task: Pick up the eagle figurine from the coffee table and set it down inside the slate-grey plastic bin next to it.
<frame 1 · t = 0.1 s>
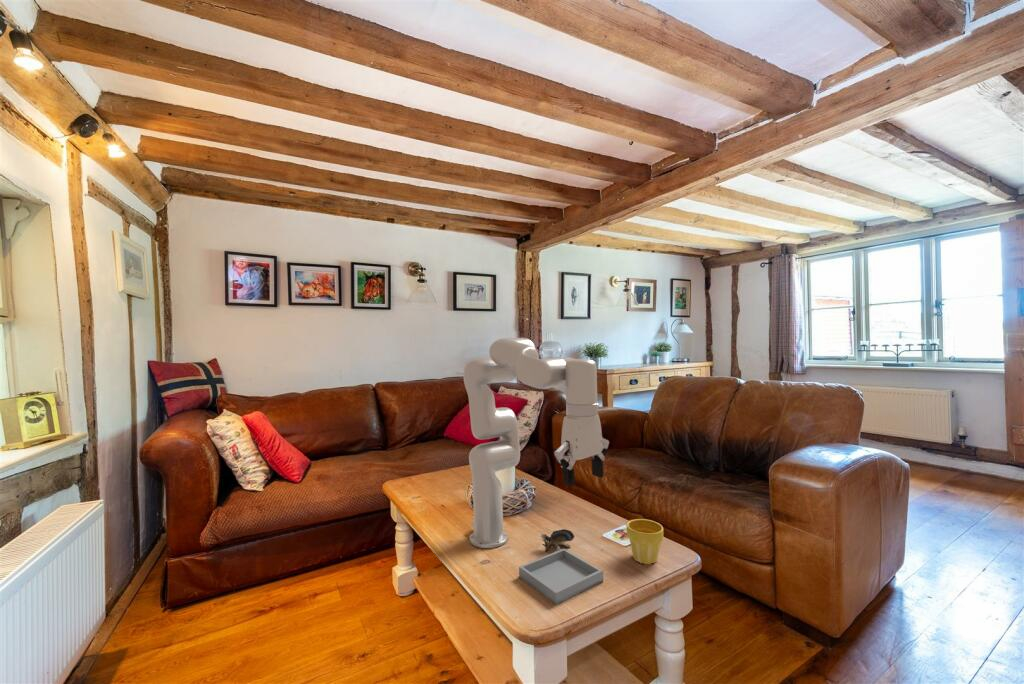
hand: (583, 480, 106), 31 cm above the table, tool pointing down, fingers open, 9 cm apart
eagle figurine: (557, 550, 135), on the table
plant pot: (645, 559, 128), on the table
bin: (560, 579, 119), on the table
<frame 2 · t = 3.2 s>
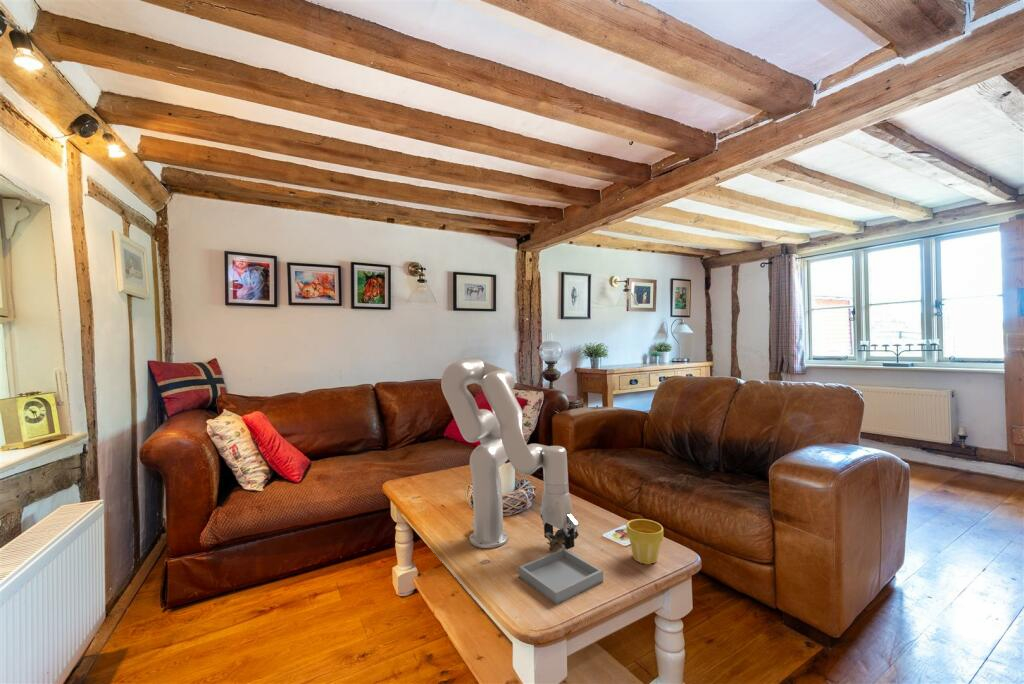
hand: (559, 542, 135), 3 cm above the table, tool pointing down, fingers open, 9 cm apart
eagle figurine: (561, 548, 136), on the table
everything else where it was.
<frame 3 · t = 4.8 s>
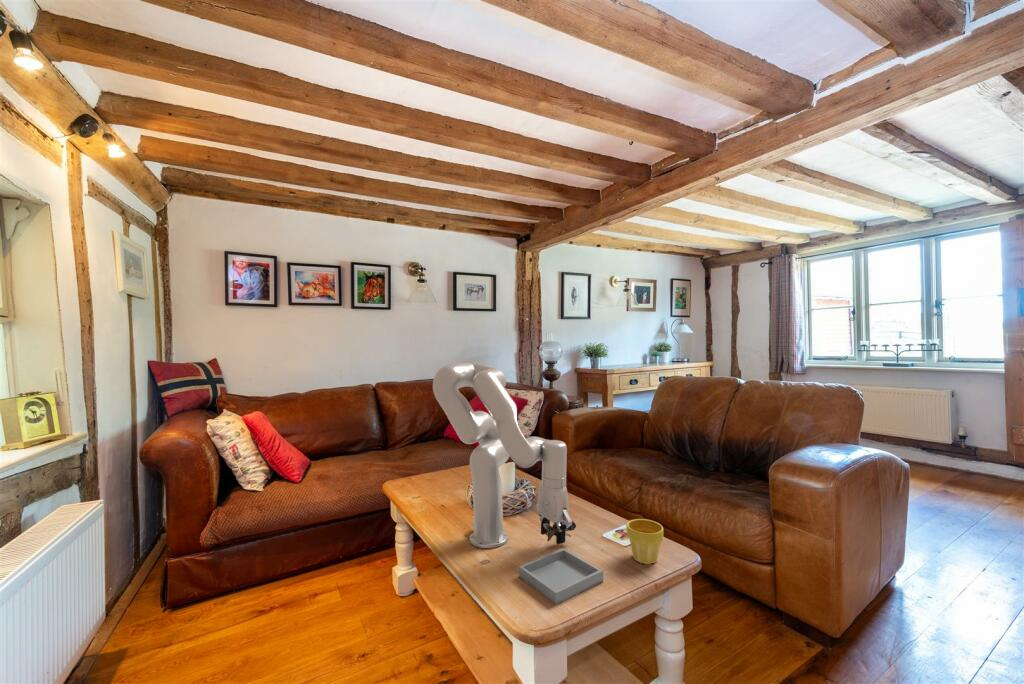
hand: (552, 537, 135), 4 cm above the table, tool pointing down, fingers closed on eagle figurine, 6 cm apart
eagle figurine: (558, 539, 136), point 2 cm above the table, touching gripper
everything else where it was.
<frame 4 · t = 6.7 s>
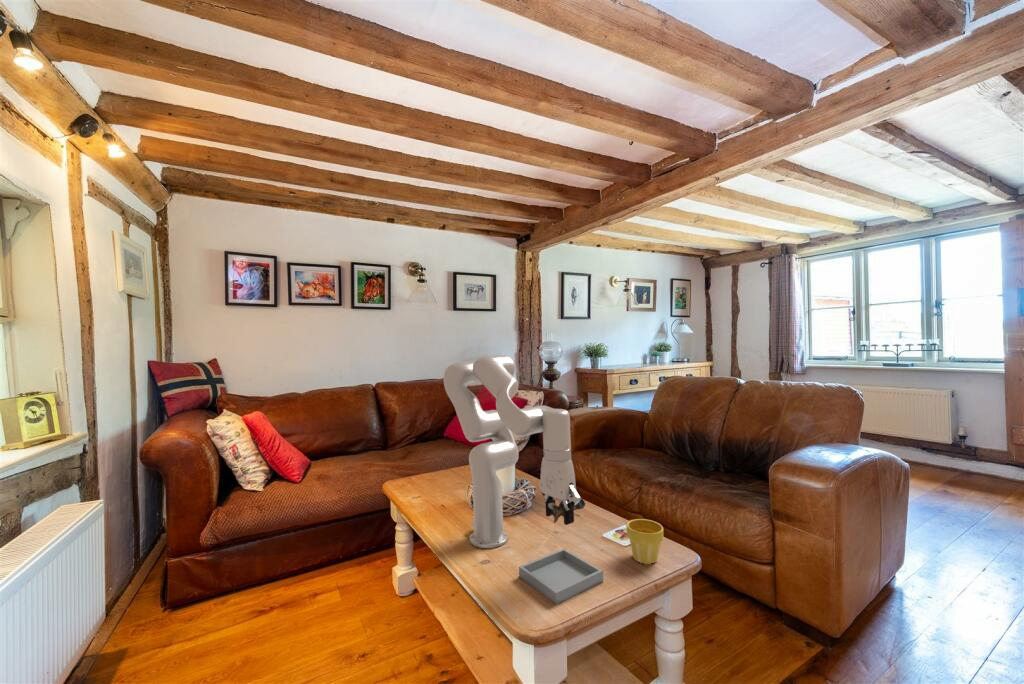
hand: (559, 518, 120), 16 cm above the table, tool pointing down, fingers closed on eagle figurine, 6 cm apart
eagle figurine: (566, 520, 121), point 15 cm above the table, touching gripper
everything else where it was.
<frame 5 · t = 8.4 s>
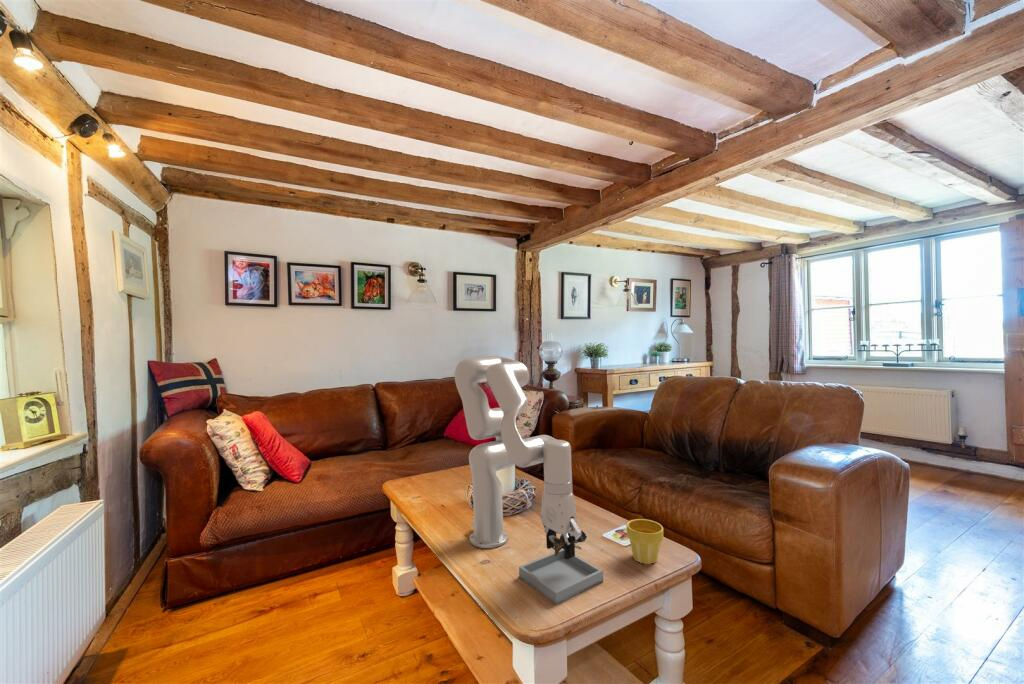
hand: (560, 551, 118), 8 cm above the table, tool pointing down, fingers closed on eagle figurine, 6 cm apart
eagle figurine: (567, 553, 119), point 7 cm above the table, touching gripper
everything else where it was.
when the fingers open (3 cm above the table, at t = 9.7 s): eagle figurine drops 2 cm, resting on bin.
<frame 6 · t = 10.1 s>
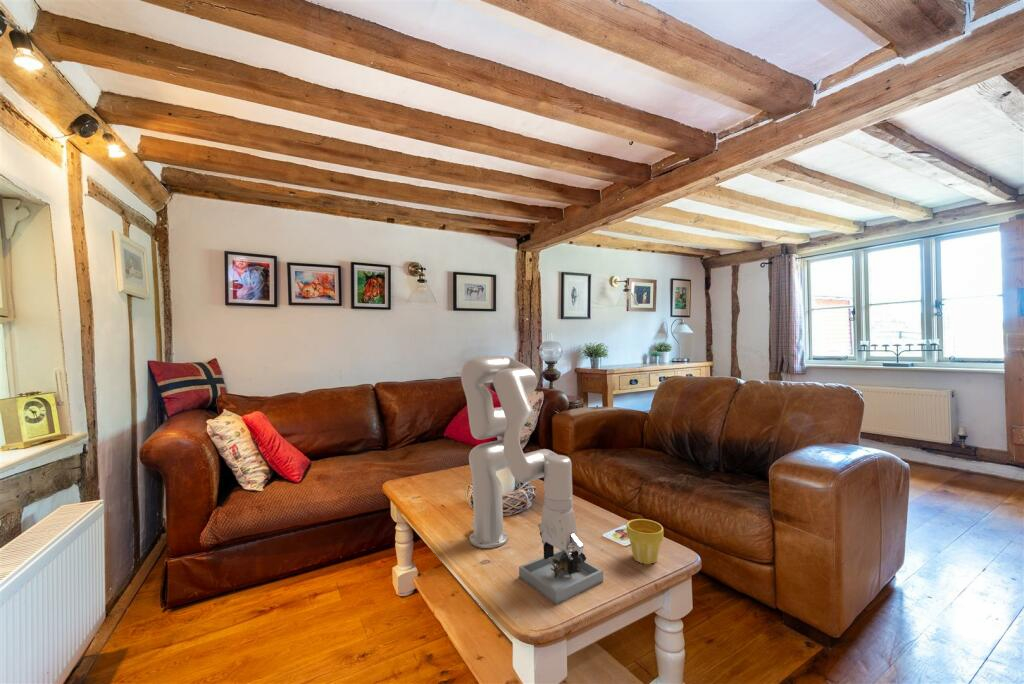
hand: (560, 564, 119), 4 cm above the table, tool pointing down, fingers open, 9 cm apart
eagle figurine: (567, 575, 120), point 1 cm above the table, touching bin
everything else where it was.
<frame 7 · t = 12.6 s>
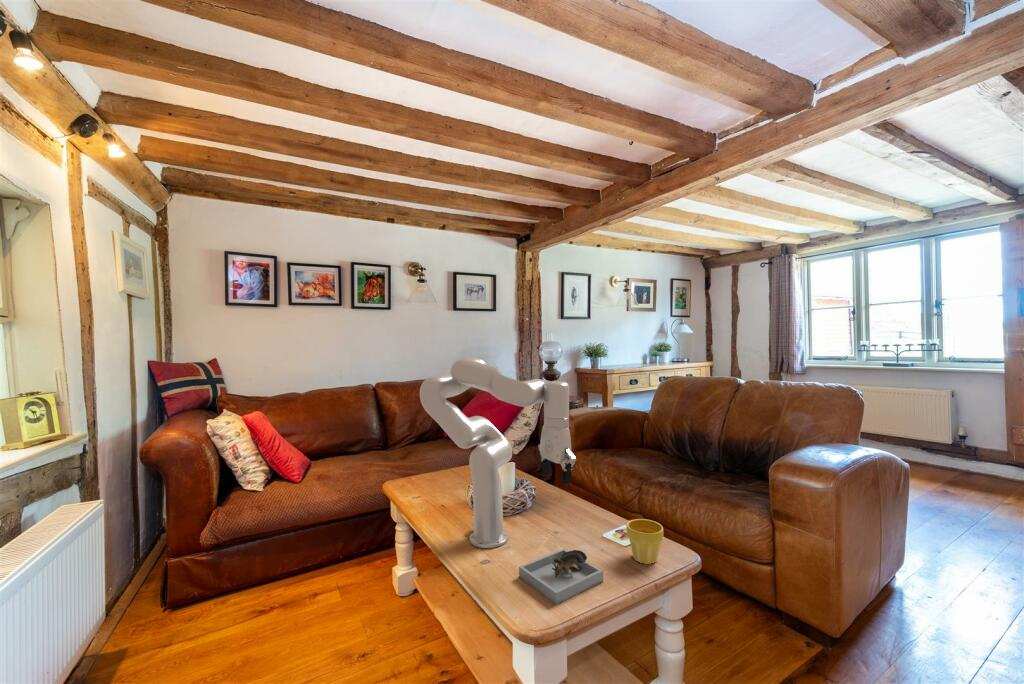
hand: (556, 478, 132), 23 cm above the table, tool pointing down, fingers open, 9 cm apart
nothing on the table moved.
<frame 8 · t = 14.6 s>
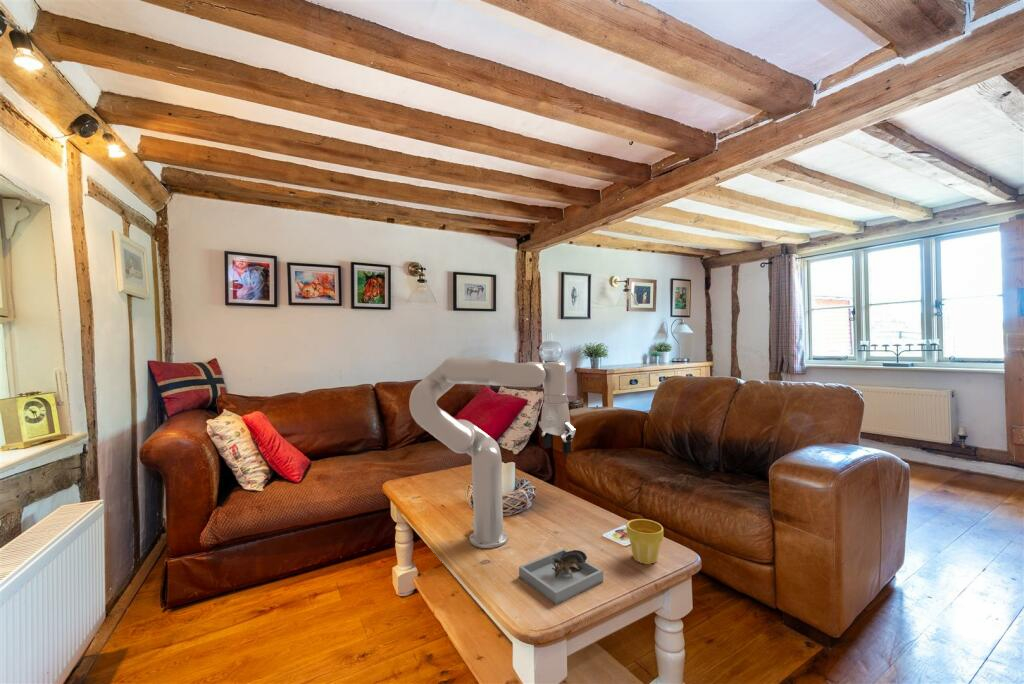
hand: (556, 450, 144), 28 cm above the table, tool pointing down, fingers open, 9 cm apart
nothing on the table moved.
at the end: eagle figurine inside the target area on the bin (2.6 cm from its centre), point 0.6 cm above the bin's base; the gripper is holding nothing; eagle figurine tilted 0° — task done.
